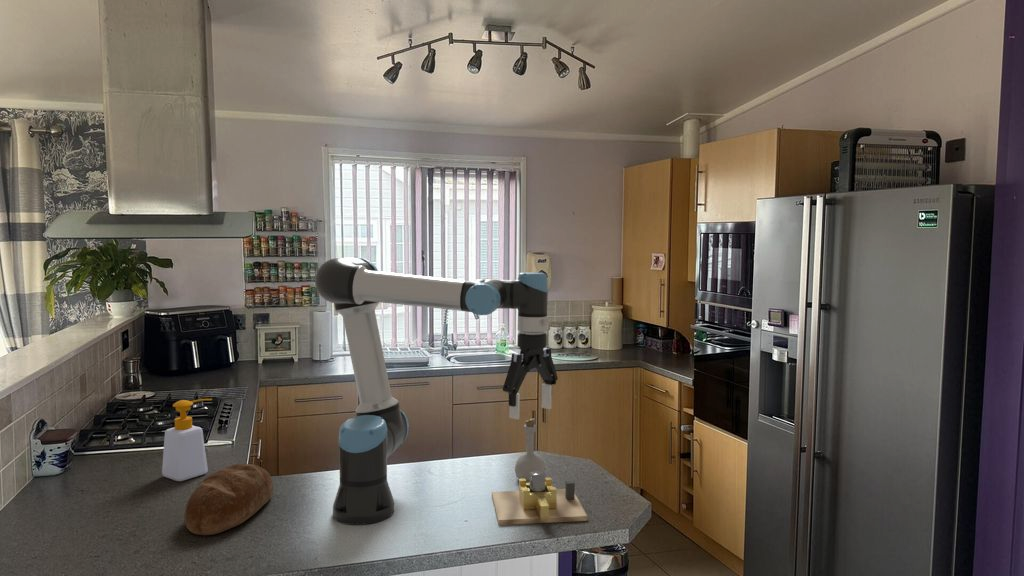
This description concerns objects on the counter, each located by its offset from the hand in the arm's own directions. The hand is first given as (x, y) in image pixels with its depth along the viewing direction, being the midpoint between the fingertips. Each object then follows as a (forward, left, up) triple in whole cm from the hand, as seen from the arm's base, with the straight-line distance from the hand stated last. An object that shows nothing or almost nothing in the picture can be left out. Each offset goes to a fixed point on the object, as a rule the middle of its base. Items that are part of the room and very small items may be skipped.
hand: (530, 413), depth 171 cm
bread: (-76, +2, -24) cm, 80 cm away
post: (+1, -4, -24) cm, 24 cm away
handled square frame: (+1, -7, -22) cm, 23 cm away
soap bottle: (-96, +32, -24) cm, 104 cm away
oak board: (+1, -4, -24) cm, 24 cm away
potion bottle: (+2, +16, -24) cm, 29 cm away
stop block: (+10, -2, -23) cm, 25 cm away
